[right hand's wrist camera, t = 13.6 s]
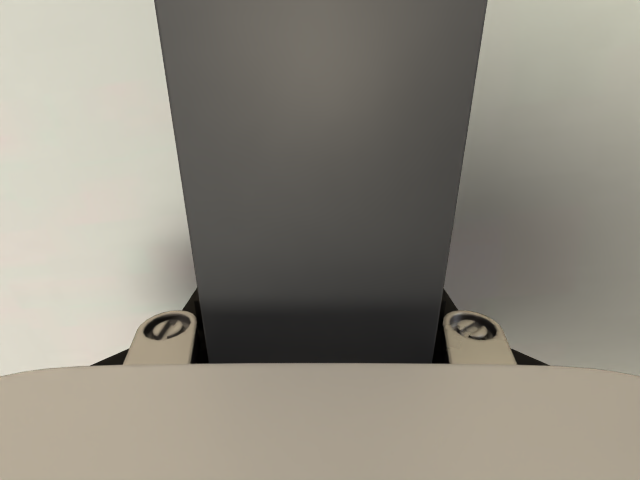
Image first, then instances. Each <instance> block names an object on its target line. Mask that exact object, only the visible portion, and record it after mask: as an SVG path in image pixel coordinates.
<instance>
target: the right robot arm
mask: <svg viewBox="0 0 640 480" xmlns="http://www.w3.org/2000/svg"><path fill="white" fill-rule="evenodd" d="M0 480H640V376H636V375H630V374H625V373H620V372H614V371H607V370H599V369H591V368H579V367H563V366H550V365H547V364H545V363H543V362H541V361H538V360H536V359H534V358H531V357H529V356H527V355H525V354H522V353H520V352H518V351H515V350H513V349H511V348H510V346H509V344H508V341H507V339H506V336H505V334H504V332H503V330H502V328H501V327H500V325H499V324H498V323H497V322H495V321H494V320H493V319H491V318H489V317H487V316H485V315H482V314H480V313H477V312H472V311H461V310H459V311H458V309H457V308H456V306H455V305H454V303H453V302H452V300H451V299H450V297H449V296H448V294H447V293H446V291H445V290H444V288H443V294H442V300H441V307H440V314H439V320H438V327H437V333H436V340H435V346H434V353H433V359H432V364H400V363H230V364H209V360H208V354H207V347H206V340H205V334H204V327H203V321H202V314H201V307H200V301H199V294H198V287H197V289H196V290H195V292H194V293H193V295H192V296H191V298H190V299H189V301H188V302H187V304H186V305H185V307H184V308H183V310H182V311H181V310H179V311H168V312H163V313H160V314H158V315H155V316H153V317H151V318H149V319H147V320H146V321H145V322H143V323H142V324H141V325H140V327H139V328H138V330H137V332H136V334H135V336H134V339H133V341H132V344H131V346H130V348H129V349H127V350H125V351H122V352H120V353H118V354H116V355H113V356H111V357H109V358H107V359H104V360H102V361H100V362H97V363H95V364H93V365H91V366H76V367H62V368H49V369H40V370H33V371H26V372H20V373H15V374H10V375H5V376H0Z"/></svg>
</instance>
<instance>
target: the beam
mask: <svg viewBox="0 0 640 480" xmlns="http://www.w3.org/2000/svg"><path fill="white" fill-rule="evenodd" d="M154 2H155V9H156V15H157V22H158V29H159V35H160V42H161V49H162V55H163V62H164V68H165V75H166V82H167V88H168V95H169V102H170V108H171V115H172V121H173V128H174V135H175V141H176V148H177V155H178V161H179V168H180V175H181V181H182V188H183V194H184V201H185V208H186V214H187V221H188V228H189V234H190V241H191V248H192V254H193V261H194V267H195V274H196V281H197V287H198V294H199V301H200V307H201V314H202V321H203V327H204V334H205V340H206V347H207V354H208V360H209V364H230V363H400V364H432V359H433V353H434V346H435V340H436V333H437V327H438V320H439V314H440V307H441V300H442V294H443V287H444V281H445V274H446V268H447V261H448V255H449V248H450V242H451V235H452V229H453V222H454V215H455V209H456V202H457V196H458V189H459V183H460V176H461V170H462V163H463V157H464V150H465V144H466V137H467V131H468V124H469V117H470V111H471V104H472V98H473V91H474V85H475V78H476V72H477V65H478V59H479V52H480V46H481V39H482V32H483V26H484V19H485V13H486V6H487V0H154Z"/></svg>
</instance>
